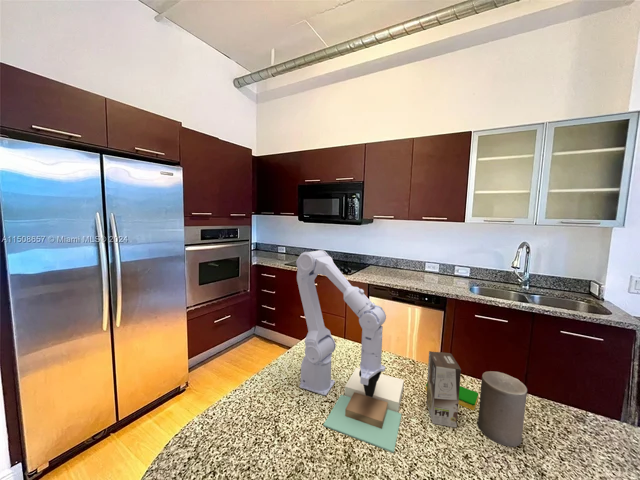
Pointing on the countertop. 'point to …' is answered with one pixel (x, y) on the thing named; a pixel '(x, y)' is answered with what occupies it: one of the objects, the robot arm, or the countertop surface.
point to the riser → (378, 389)
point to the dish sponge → (467, 398)
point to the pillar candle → (502, 408)
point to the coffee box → (443, 388)
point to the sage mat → (364, 426)
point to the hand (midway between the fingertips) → (369, 394)
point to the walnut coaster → (367, 410)
